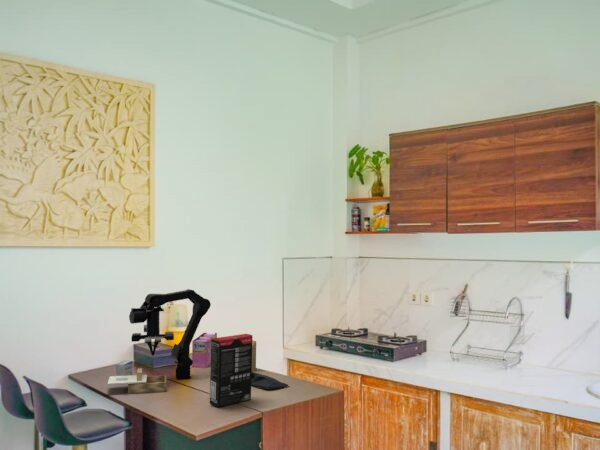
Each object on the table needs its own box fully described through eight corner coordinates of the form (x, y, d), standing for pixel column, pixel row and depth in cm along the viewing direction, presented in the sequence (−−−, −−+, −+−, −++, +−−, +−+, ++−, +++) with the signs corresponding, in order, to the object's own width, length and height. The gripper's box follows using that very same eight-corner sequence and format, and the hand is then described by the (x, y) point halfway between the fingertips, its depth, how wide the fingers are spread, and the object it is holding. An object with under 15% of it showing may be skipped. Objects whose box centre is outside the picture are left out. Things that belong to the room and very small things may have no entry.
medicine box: (124, 383, 268) (124, 364, 268) (115, 382, 269) (115, 364, 269) (132, 378, 276) (132, 360, 276) (124, 378, 277) (124, 360, 277)
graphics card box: (242, 396, 249) (243, 332, 249) (253, 400, 244) (253, 334, 244) (209, 404, 237) (209, 337, 237) (219, 408, 232) (219, 340, 232)
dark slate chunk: (264, 393, 254) (264, 382, 254) (237, 382, 272) (237, 372, 272) (292, 387, 264) (292, 377, 264) (264, 377, 281) (264, 367, 281)
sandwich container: (222, 374, 285) (222, 343, 285) (243, 368, 297) (243, 338, 297) (235, 377, 280) (235, 345, 280) (256, 370, 292) (256, 340, 292)
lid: (147, 375, 265) (147, 366, 265) (146, 382, 253) (146, 373, 253) (110, 377, 261) (110, 368, 261) (107, 385, 250) (107, 375, 250)
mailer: (166, 384, 267) (166, 375, 267) (166, 391, 255) (166, 382, 255) (129, 386, 263) (129, 377, 263) (128, 393, 252) (128, 384, 251)
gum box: (204, 356, 321) (204, 332, 321) (218, 357, 321) (218, 332, 321) (191, 367, 298) (191, 340, 298) (206, 368, 297) (207, 341, 297)
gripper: (173, 318, 279) (173, 350, 279) (132, 319, 275) (132, 352, 275) (173, 321, 268) (173, 356, 268) (131, 323, 264) (131, 357, 264)
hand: (152, 355), depth 269 cm, fingers closed
